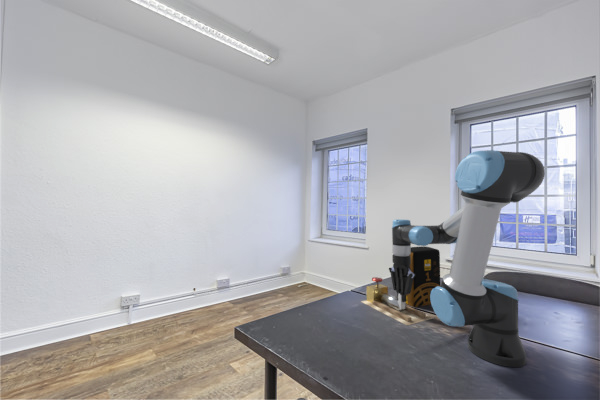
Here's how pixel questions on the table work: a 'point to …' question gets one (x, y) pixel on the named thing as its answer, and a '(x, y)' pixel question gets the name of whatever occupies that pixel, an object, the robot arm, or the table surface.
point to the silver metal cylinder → (391, 301)
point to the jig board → (413, 317)
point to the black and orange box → (423, 275)
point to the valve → (376, 290)
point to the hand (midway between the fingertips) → (401, 308)
